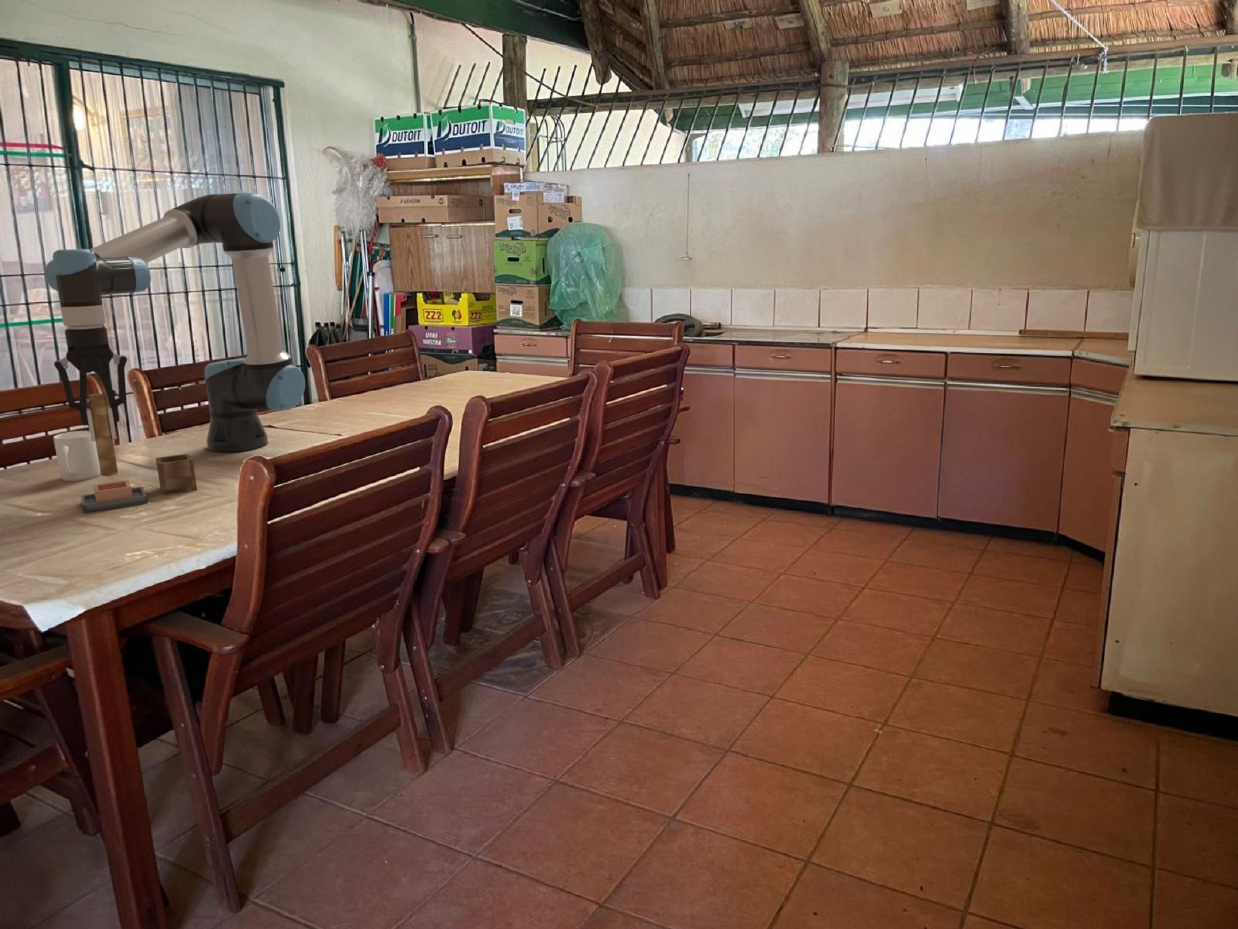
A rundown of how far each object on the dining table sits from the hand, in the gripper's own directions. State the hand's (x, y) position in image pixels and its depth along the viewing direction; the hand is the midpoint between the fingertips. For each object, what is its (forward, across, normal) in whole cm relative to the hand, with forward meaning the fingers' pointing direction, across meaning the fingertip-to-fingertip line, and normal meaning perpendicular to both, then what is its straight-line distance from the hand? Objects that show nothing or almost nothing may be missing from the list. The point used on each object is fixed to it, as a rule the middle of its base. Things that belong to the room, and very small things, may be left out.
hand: (103, 438), depth 194 cm
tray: (+14, 0, 0) cm, 14 cm away
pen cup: (+14, -13, -4) cm, 20 cm away
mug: (+14, +6, -28) cm, 32 cm away
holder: (+13, 0, 0) cm, 13 cm away
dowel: (+8, 0, 0) cm, 8 cm away
